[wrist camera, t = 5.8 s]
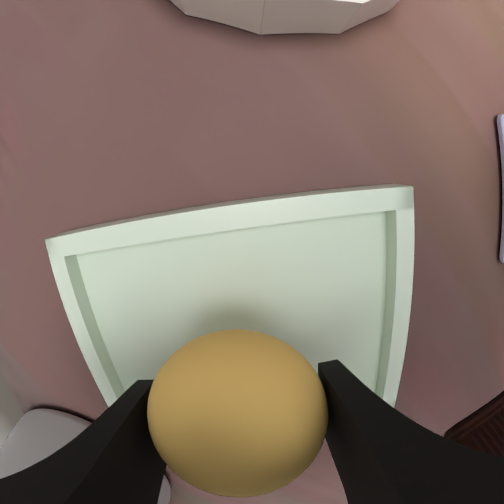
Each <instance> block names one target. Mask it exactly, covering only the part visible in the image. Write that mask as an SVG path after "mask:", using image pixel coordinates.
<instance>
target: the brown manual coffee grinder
mask: <svg viewBox="0 0 504 504" xmlns="http://www.w3.org/2000/svg"><path fill="white" fill-rule="evenodd" d="M445 438H446V439H449V440H451V441H454V442H456V443H459V444H461V445H464V446H467V447H469V448H472V449H475V450H478V451H482V452H485V453H489V454H493V455H497V456H502V457H504V392H502V393H501V394H500V395H498V396H497V397H496V398H494V399H493V400H492V401H490V402H489V403H488V404H486V405H485V406H483V407H482V408H480V409H479V410H478V411H476V412H475V413H473V414H472V415H470V416H469V417H467V418H466V419H464V420H463V421H461V422H459V423H458V424H456V425H455V426H454V427H452V428H451V429H449V430H448V431H447V433H446V437H445Z"/></svg>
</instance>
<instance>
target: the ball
mask: <svg viewBox="0 0 504 504" xmlns="http://www.w3.org/2000/svg"><path fill="white" fill-rule="evenodd" d="M147 418H148V426H149V431H150V434H151V437H152V440H153V443H154V446H155V447H156V449H157V451H158V453H159V454H160V456H161V458H162V459H163V460H164V462H165V463H166V464H167V465H168V466H169V468H170V469H171V470H172V471H173V472H174V473H175V474H177V475H178V476H179V477H180V478H182V479H183V480H184V481H186V482H187V483H189V484H191V485H192V486H194V487H196V488H199V489H201V490H203V491H206V492H208V493H212V494H215V495H220V496H227V497H251V496H258V495H262V494H266V493H269V492H272V491H274V490H277V489H279V488H281V487H283V486H285V485H287V484H288V483H290V482H291V481H293V480H294V479H296V478H297V477H298V476H300V475H301V474H302V473H303V472H304V471H305V470H306V469H307V468H308V466H309V465H310V464H311V463H312V462H313V460H314V459H315V457H316V456H317V454H318V452H319V450H320V448H321V446H322V444H323V441H324V438H325V435H326V431H327V425H328V404H327V398H326V394H325V390H324V388H323V385H322V383H321V380H320V378H319V376H318V375H317V373H316V371H315V370H314V368H313V367H312V366H311V364H310V363H309V362H308V361H307V360H306V359H305V357H304V356H302V355H301V354H300V353H299V352H298V351H296V350H295V349H294V348H293V347H292V346H290V345H288V344H287V343H285V342H283V341H281V340H279V339H277V338H275V337H273V336H270V335H267V334H264V333H261V332H256V331H251V330H241V329H231V330H221V331H217V332H212V333H209V334H206V335H203V336H200V337H198V338H196V339H194V340H192V341H190V342H188V343H187V344H185V345H183V346H182V347H181V348H179V349H178V350H177V351H176V352H174V353H173V354H172V355H171V356H170V357H169V358H168V360H167V361H166V362H165V363H164V364H163V366H162V367H161V368H160V370H159V372H158V374H157V375H156V377H155V379H154V381H153V383H152V387H151V390H150V393H149V397H148V406H147Z"/></svg>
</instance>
